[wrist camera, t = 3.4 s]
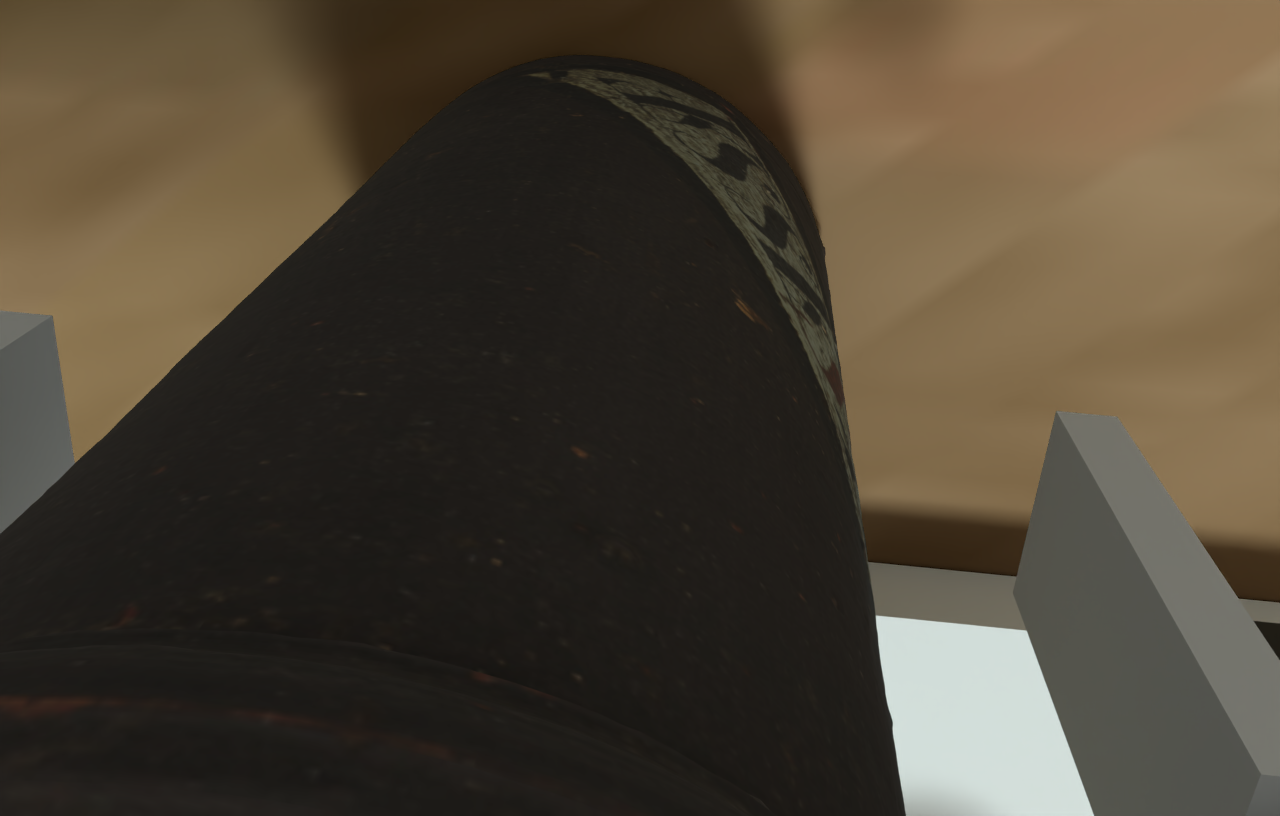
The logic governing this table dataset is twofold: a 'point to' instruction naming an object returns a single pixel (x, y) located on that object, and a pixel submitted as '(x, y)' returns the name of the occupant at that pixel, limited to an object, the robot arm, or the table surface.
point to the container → (479, 503)
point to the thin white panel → (974, 697)
